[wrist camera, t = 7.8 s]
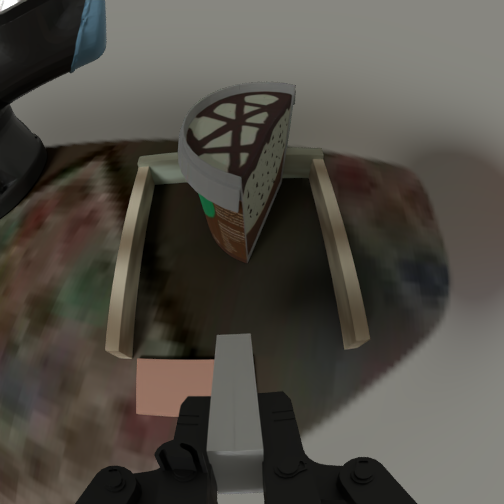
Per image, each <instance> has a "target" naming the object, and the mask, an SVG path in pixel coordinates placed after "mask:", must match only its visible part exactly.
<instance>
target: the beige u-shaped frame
mask: <svg viewBox="0 0 504 504" xmlns="http://www.w3.org/2000/svg"><path fill="white" fill-rule="evenodd" d="M323 157H324V154H323V151H322V148H287V150H286V157H285V164H284V170H283V177H282V178H309V182H310V185H311V189H312V193H313V197H314V201H315V205H316V209H317V213H318V217H319V221H320V226H321V230H322V234H323V239H324V243H325V248H326V252H327V257H328V262H329V266H330V271H331V276H332V281H333V286H334V292H335V297H336V302H337V308H338V313H339V319H340V325H341V331H342V337H343V344H344V350H346V349H353V348H358V347H359V346H361V345H362V344H364V343H365V342H367V341H368V340H370V335H369V329H368V324H367V319H366V314H365V309H364V305H363V300H362V295H361V291H360V286H359V282H358V278H357V274H356V269H355V265H354V261H353V257H352V254H351V250H350V246H349V242H348V238H347V235H346V231H345V228H344V224H343V221H342V217H341V214H340V210H339V207H338V204H337V200H336V197H335V194H334V191H333V188H332V185H331V182H330V178H329V175H328V172H327V169H326V166H325V164H324V161H323ZM138 166H139V169H138V173H137V176H136V180H135V183H134V187H133V191H132V194H131V198H130V202H129V206H128V210H127V215H126V219H125V223H124V228H123V232H122V237H121V242H120V247H119V252H118V257H117V263H116V268H115V274H114V280H113V287H112V293H111V301H110V308H109V316H108V325H107V335H106V346H105V350H106V351H107V352H109V353H111V354H113V355H115V356H117V357H119V358H126V359H132V356H133V339H134V325H135V313H136V302H137V293H138V284H139V276H140V268H141V261H142V254H143V247H144V241H145V235H146V229H147V223H148V217H149V212H150V207H151V202H152V197H153V192H154V187H155V185H159V184H170V183H182V182H187V181H186V179H185V177H184V176H183V174H182V172H181V169H180V166H179V163H178V152H177V153H167V154H157V155H149V156H141V157H140V158H139V161H138Z"/></svg>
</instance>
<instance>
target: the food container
mask: <svg viewBox="0 0 504 504" xmlns="http://www.w3.org/2000/svg"><path fill="white" fill-rule="evenodd" d="M295 87H296V85H293V84H287V83H278V82H251V83H244V84H238V85H234V86H230V87H226V88H223V89H220V90H217V91H215V92H213V93H211V94H209V95H207V96H206V97H204V98H202V99H201V100H199V101H198V102H197V103H196V104H195V105H194V106H193V107H192V108H191V109H190V110H189V111H188V113H187V115H186V117H185V119H184V122H183V125H182V127H181V130H180V134H179V144H178V163H179V166H180V169H181V172H182V174H183V176H184V177H185V179H186V181H187V182H188V183H189V184H190V185H191V186H192V188H193V189H194V190H195V191H196V192H198V194H199V197H200V200H201V203H202V206H203V210H204V213H205V216H206V219H207V222H208V225H209V228H210V231H211V234H212V236H213V238H214V240H215V241H216V243H217V244H218V245H219V246H220V247H221V249H222V250H224V251H225V252H226V253H227V254H229V255H230V256H232V257H233V258H235V259H237V260H239V261H242V262H244V263H248V261H249V259H250V256H251V254H252V252H253V249H254V247H255V244H256V242H257V240H258V237H259V235H260V233H261V230H262V228H263V225H264V223H265V221H266V218H267V216H268V214H269V211H270V209H271V207H272V204H273V202H274V199H275V197H276V195H277V192H278V190H279V188H280V185H281V183H282V177H283V170H284V164H285V157H286V150H287V144H288V137H289V129H290V123H291V116H292V108H293V105H294V104H295V93H296V91H295Z"/></svg>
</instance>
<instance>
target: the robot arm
mask: <svg viewBox="0 0 504 504" xmlns="http://www.w3.org/2000/svg"><path fill="white" fill-rule="evenodd" d="M105 14H106V13H105V0H0V218H1V217H2V216H4V215H5V214H6V213H8V212H9V211H10V210H11V209H12V208H13V207H14V206H16V205H17V204H18V203H19V202H20V200H21V199H22V198H23V197H24V196H25V195H26V194H27V193H28V191H29V190H30V189H31V188H32V186H33V185H34V184H35V182H36V181H37V179H38V178H39V176H40V174H41V172H42V170H43V168H44V166H45V163H46V160H47V151H46V149H45V147H44V145H43V143H42V141H41V139H40V138H39V137H38V136H37V135H36V134H33V133H32V132H31V131H30V130H29V129H28V128H27V126H26V125H24V123H22V122H21V121H20V120H19V119H18V118H17V117H16V116H15V114H14V112H13V111H12V108H11V106H10V103H12V102H13V101H15V100H16V99H18V98H20V97H22V96H23V95H25V94H27V93H29V92H30V91H32V90H34V89H36V88H38V87H39V86H41V85H43V84H45V83H47V82H49V81H51V80H53V79H55V78H57V77H59V76H62V75H64V74H66V73H68V72H70V73H72V72H74V71H75V69H77V68H79V67H81V66H84V65H86V64H88V63H90V62H92V61H95V60H96V59H98V58H99V57H100V56H101V55H102V54H103V52H104V51H105V48H106V15H105ZM154 455H155V458H156V460H157V462H158V464H159V466H160V468H159V469H157V470H153V471H149V472H142V473H134V474H133V473H132V472H131V471H130V470H128V469H126V468H125V467H120V466H109V467H106V468H104V469H102V470H101V471H99V472H98V473H97V474H96V476H95V477H94V478H93V480H92V481H91V483H90V484H89V485H88V487H87V488H86V490H85V491H84V492H83V494H82V495H81V496H80V498H79V499H78V501H77V502H76V503H75V504H218V502H217V491H218V494H239V493H240V494H241V493H261V492H264V500H265V501H264V504H417V503H416V502H415V501H414V500H413V498H411V496H410V495H409V494H408V493H407V492H406V491H405V490H404V489H403V487H402V486H401V485H400V484H399V483H398V482H397V481H396V480H395V479H394V478H393V476H392V475H391V474H390V473H389V472H388V471H387V470H386V468H385V467H384V466H383V465H382V464H381V463H379V462H378V461H377V460H375V459H372V458H369V457H358V458H355V459H351V460H350V461H348V462H347V463H345V464H344V465H343V466H333V465H323V464H319V463H316V462H314V461H312V460H311V459H309V458H308V456H307V455H306V454H305V452H304V450H303V446H302V442H301V438H300V434H299V430H298V426H297V422H296V420H295V414H294V412H293V407H292V403H291V399H290V398H289V397H288V396H287V395H286V394H285V393H284V392H283V391H282V392H270V393H257V389H256V380H255V371H254V361H253V352H252V342H251V334H231V335H217V340H216V350H215V360H214V370H213V380H212V391H211V396H188V397H187V398H186V399H185V400H184V402H183V403H182V404H181V406H180V411H179V417H178V421H177V426H176V431H175V436H174V440H171V441H169V442H166V443H164V444H162V445H161V446H160V447H159V448H158V449H157V450H156V452H155V454H154Z"/></svg>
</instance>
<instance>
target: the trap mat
mask: <svg viewBox="0 0 504 504" xmlns="http://www.w3.org/2000/svg"><path fill="white" fill-rule="evenodd" d="M213 370H214V360H166V359H139V358H137V387H136V413H137V414H144V415H156V416H172V417H179V411H180V406H181V404H182V403H183V402H184V400H185V399H186V398H187V397H188V396H211V391H212V380H213Z"/></svg>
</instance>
